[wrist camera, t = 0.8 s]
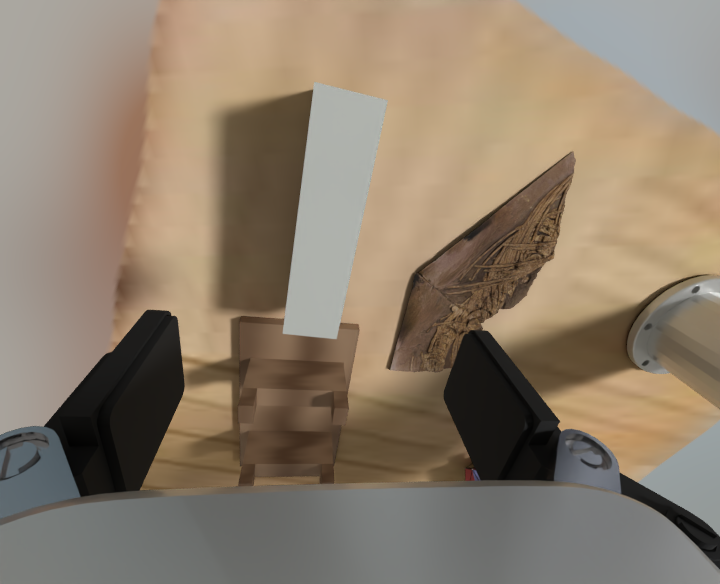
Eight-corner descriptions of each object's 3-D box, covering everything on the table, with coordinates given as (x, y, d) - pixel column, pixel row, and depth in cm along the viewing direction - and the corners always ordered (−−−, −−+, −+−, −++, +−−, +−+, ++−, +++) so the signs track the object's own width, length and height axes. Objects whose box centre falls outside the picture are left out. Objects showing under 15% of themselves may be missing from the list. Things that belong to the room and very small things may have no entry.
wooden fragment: (428, 387, 39) (431, 394, 38) (350, 347, 35) (351, 353, 34) (613, 200, 31) (622, 203, 30) (539, 120, 27) (547, 121, 26)
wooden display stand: (358, 324, 33) (368, 372, 27) (333, 458, 42) (336, 517, 36) (241, 316, 31) (223, 366, 25) (241, 458, 40) (228, 520, 34)
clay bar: (369, 102, 25) (387, 100, 18) (332, 294, 32) (336, 339, 26) (314, 89, 24) (314, 81, 18) (288, 289, 31) (282, 333, 25)
